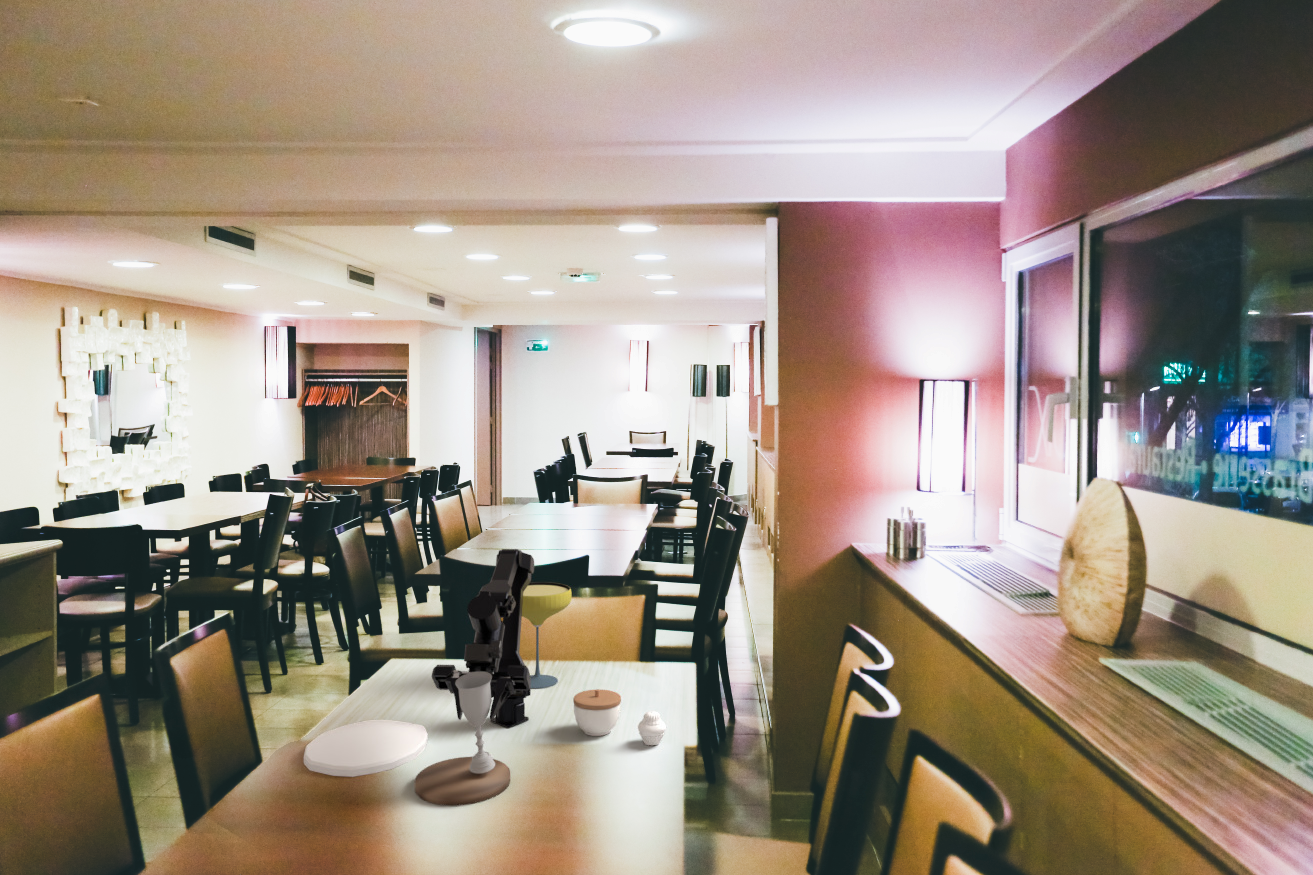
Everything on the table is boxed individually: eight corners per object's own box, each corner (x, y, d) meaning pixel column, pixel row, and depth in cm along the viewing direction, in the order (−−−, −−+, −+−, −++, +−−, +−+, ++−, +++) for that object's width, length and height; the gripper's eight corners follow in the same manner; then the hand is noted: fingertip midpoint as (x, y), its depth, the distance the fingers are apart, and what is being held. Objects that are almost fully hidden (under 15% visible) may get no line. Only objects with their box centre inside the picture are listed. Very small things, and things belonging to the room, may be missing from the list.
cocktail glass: (567, 693, 214) (567, 596, 213) (496, 693, 214) (496, 596, 213) (575, 671, 232) (575, 582, 231) (510, 671, 232) (509, 581, 231)
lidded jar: (614, 742, 183) (614, 699, 182) (567, 738, 185) (567, 696, 184) (625, 724, 193) (625, 683, 193) (581, 720, 195) (581, 680, 195)
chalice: (477, 753, 168) (469, 669, 165) (507, 758, 165) (499, 673, 162) (456, 773, 161) (447, 686, 158) (487, 778, 159) (478, 690, 156)
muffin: (669, 739, 184) (669, 708, 184) (660, 750, 178) (660, 717, 178) (643, 735, 186) (643, 704, 186) (633, 746, 180) (633, 714, 180)
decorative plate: (358, 706, 194) (449, 720, 185) (358, 723, 194) (449, 738, 185) (274, 746, 170) (374, 764, 162) (275, 766, 170) (375, 786, 162)
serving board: (395, 787, 160) (395, 779, 160) (468, 756, 175) (468, 749, 174) (456, 814, 149) (456, 806, 149) (529, 779, 164) (529, 771, 164)
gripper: (433, 624, 165) (417, 699, 154) (528, 625, 164) (517, 700, 154) (445, 652, 173) (430, 725, 162) (535, 652, 173) (525, 726, 162)
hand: (475, 718), depth 160 cm, fingers closed on chalice, 6 cm apart
